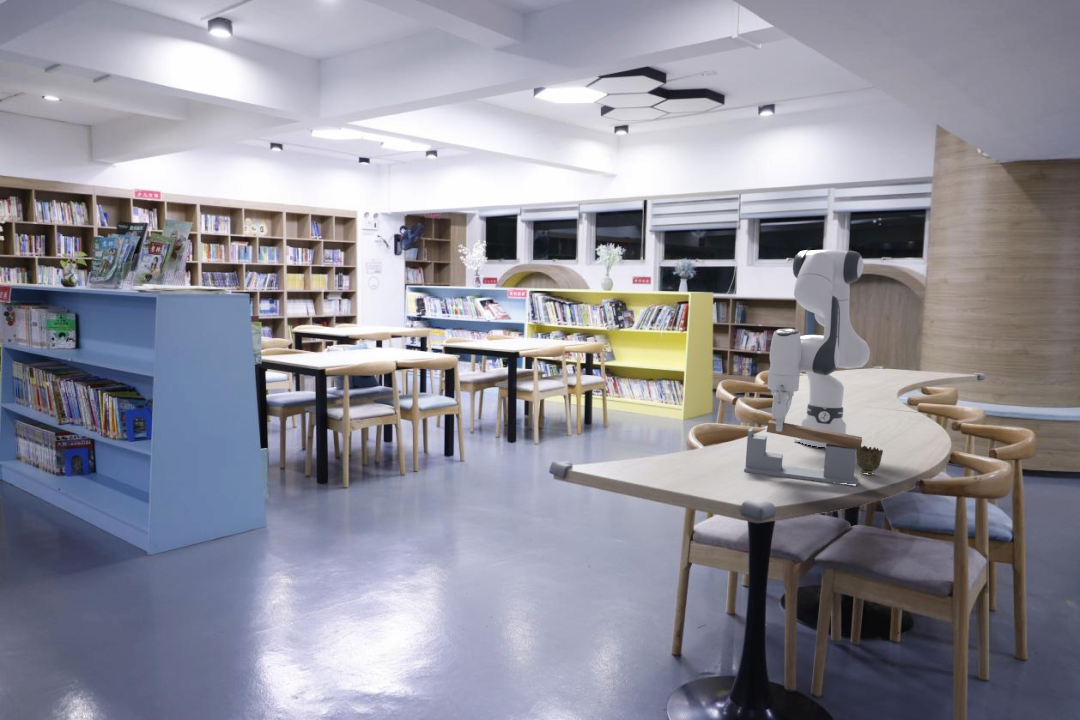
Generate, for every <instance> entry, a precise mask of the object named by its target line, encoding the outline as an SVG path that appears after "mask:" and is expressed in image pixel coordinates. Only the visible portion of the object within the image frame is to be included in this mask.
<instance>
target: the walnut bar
mask: <svg viewBox="0 0 1080 720" xmlns="http://www.w3.org/2000/svg"><path fill="white" fill-rule="evenodd" d="M766 433H770V434H775V435H781V436H786V437H791V438H794V439H795V438H801V439H806V440H811V441H816V442H821V443H827V444H832V445H837V446H842V447H848V448H853V449H858V450H860V449H861V447H862V444H863V443H862V442H863V437H862V436H857V435H854V434H853V435H852V434H847V433H846V434H842V433H837V432H832V431H826V430H821V429H815V428H810V427H805V426H801V425H798V424H793V423H787V422H784V423H783V428H782V431H781V432H779V431H776V420H772V419H769V420H768V422H767V427H766Z"/></svg>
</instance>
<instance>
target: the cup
mask: <svg viewBox="0 0 1080 720" xmlns="http://www.w3.org/2000/svg"><path fill="white" fill-rule="evenodd" d="M883 453H884V450H883V449H879V448H878V447H877V448H876V447H873V448H872V446H869V448H868V447H867V446H866V445H863V446H861V449H860V450H858V449H856V456H855V460H856V464H857V466H858V468H860V473H861V472H862V473H868V474H872V473H874V474H875V470H877V469H878V468H879V467H880V464H881V461H882V457H883ZM862 473H861V474H862Z"/></svg>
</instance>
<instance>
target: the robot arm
mask: <svg viewBox="0 0 1080 720" xmlns="http://www.w3.org/2000/svg"><path fill="white" fill-rule="evenodd" d="M864 267H865V266H864V260H863V256H862V255H861V253H860V252H857V251H854V250H842V249H834V248H833V249H832V248H831V249H830V248H828V249H815V250H810V249H806V250H801V251H798V253H797V254H795V256H794V259H793V262H792V273H793V276H794V277H795V278H796V280H795V285H794V289H793V296H794V299H795V301H796V302H797V304H798V305H799V306H800V307H801V308H803V309H805V310H806V311H808V312H810V313H813V314H814V319H815V321H816V322H817V323H818V324H819V325H820V326H822V327H824V329H823V334H822V335H819V334H807V335H801V332H800V330H798V329H796V328H779V329H777V330H775V331H774V332H773V334H772V338H771V343H770V349H769V363H770V364H769V365H770V367H769V368H768V372H767V373H768V374H767V375H768V376H767V389H768V390H771V395H772V396H773V398H772V407H771V419H773V420H774V419H775V421H776V431H779V432H781V431H782V428H783V423H785V421H786V417H787V416H788V413H789V410H791V409H790V408H791V405H792V400H793V396H794V393H795V392H798V391H799V387H800V376H801V375H800V373H801V372H805V373H806V376H807V380H808V382H809V383H808V384H809V400H808V404H807V407H806V416H805V417H804V418H803V419H802V420H801V422H800V426H805V427H810V428H815V429H821V430H826V431H832V432H837V433H842V434H847V423H846V421H844V420H843V417H844V407H843V401H844V385H843V383H842V382H841V381H840V380H839V379H837V378H836V377H833V375H830V374H832V373H833V372H835V371H836V370H837V369H858V368H863V367H864V366H866V364H867V363H868V362H869V359H870V355H871V351H870V350H871V349H870V346H869V345H868V342H866V341H865V340H864V339H863V338H862V337H860V335H859V334H857V332H856V331H855V329H854V327H853V326H852V323H851V318H850V317H851V316H850V302H851V301H850V299H851V298H850V296H851V294H850V293H851V287H850V285H852V283H855V282H857V281H859V279H861V276H862V274H863V271H864ZM793 442H795V443H798V442H800V443H799V444H802V443H803V445H805V444H807V445H806V446H808V445H811V446H810V447H812V446H817V447H816V448H818V447H826V443H821V442H816V441H811V440H806V439H801V438H795V437H794V441H793Z"/></svg>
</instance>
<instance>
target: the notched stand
mask: <svg viewBox="0 0 1080 720" xmlns="http://www.w3.org/2000/svg"><path fill="white" fill-rule="evenodd" d="M754 430H755V428H754V427H749V429H748V430H747V440H746V453H745V466H744V468H743V470H744V471H743V472H744V473H752V474H760V475H768V476H775V477H783V478H789V477H790V479H797V478H798V479H797V480H804V479H805V480H806V481H812V480H814V481H813V482H820V481H823V482H822V483H827V482H835V483H847V484H857V485H858V475H857V474H855V464H856V449H853V448H848V447H842V446H837V445H832V444H827V443H826V448H825V452H824V453H825V454H824V465H823V470H821V469H814V468H813V469H812V468H804V467H797V466H789V465H783V457H784V454H783V453H777V452H768V451H767V440H768V439H767V438H768V435H762V434H754ZM835 483H834V484H835Z"/></svg>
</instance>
